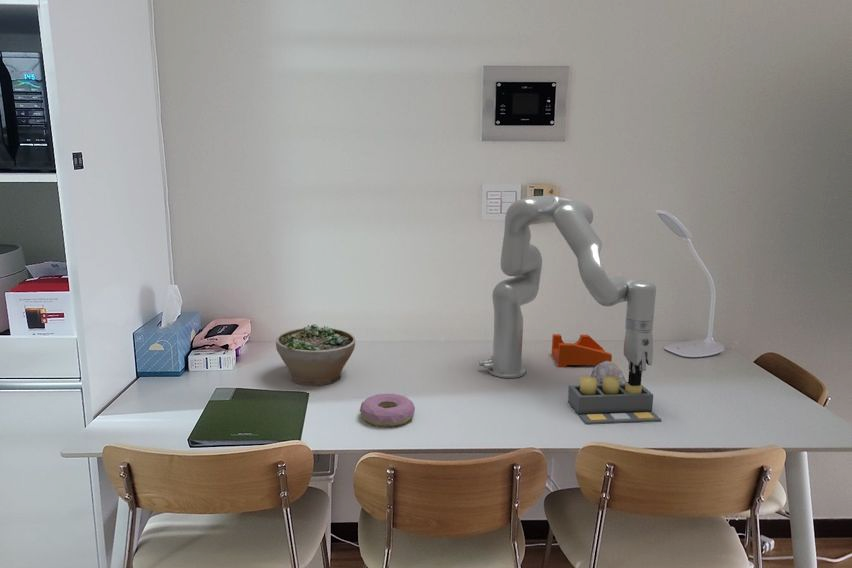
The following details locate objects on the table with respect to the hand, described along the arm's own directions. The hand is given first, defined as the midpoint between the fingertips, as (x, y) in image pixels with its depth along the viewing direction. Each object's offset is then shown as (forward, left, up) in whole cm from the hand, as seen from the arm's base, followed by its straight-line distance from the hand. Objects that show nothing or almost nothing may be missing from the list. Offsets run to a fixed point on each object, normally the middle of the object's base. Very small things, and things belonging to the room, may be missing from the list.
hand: (634, 384), depth 196 cm
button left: (-14, 0, -3) cm, 14 cm away
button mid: (-7, 0, -3) cm, 8 cm away
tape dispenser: (-1, +41, -8) cm, 41 cm away
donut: (-72, -1, -8) cm, 72 cm away
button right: (0, 0, -5) cm, 5 cm away
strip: (-7, -8, -7) cm, 13 cm away
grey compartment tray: (-7, 0, -7) cm, 10 cm away
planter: (-93, +32, -7) cm, 99 cm away
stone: (0, +18, -8) cm, 20 cm away
